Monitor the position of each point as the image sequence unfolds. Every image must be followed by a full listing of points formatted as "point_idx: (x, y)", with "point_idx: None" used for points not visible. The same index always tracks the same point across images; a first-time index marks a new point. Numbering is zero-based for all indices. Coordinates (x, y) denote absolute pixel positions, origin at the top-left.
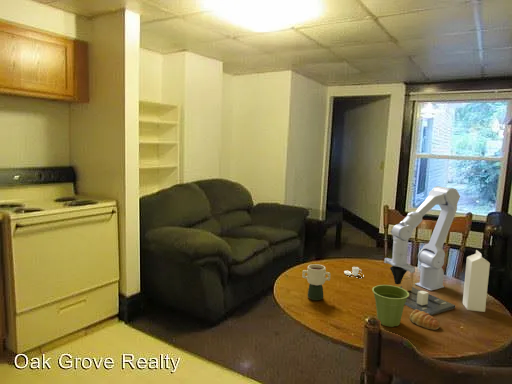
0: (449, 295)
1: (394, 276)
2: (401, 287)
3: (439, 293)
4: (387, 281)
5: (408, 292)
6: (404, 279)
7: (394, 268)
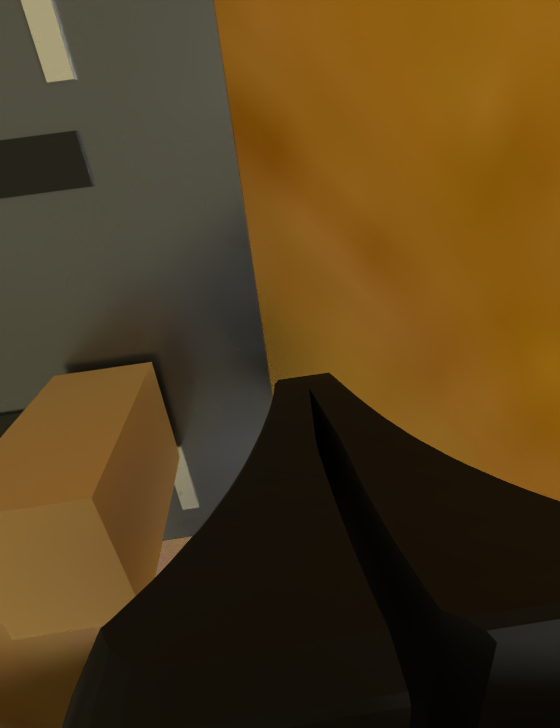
0: (19, 689)
1: (364, 434)
2: (244, 410)
3: (73, 654)
4: (545, 410)
5: (33, 381)
6: (40, 510)
7: (489, 696)
